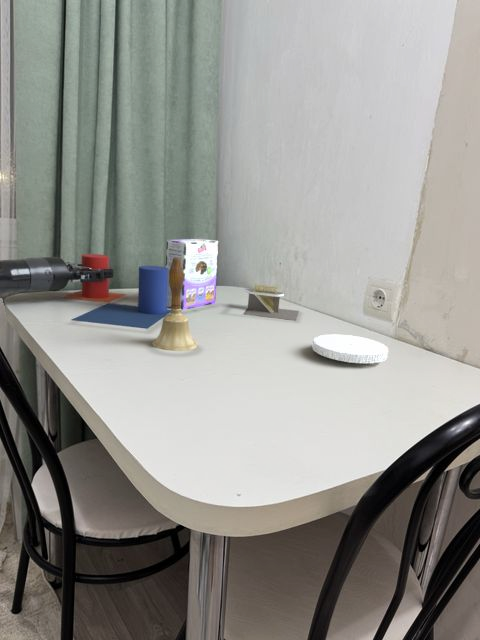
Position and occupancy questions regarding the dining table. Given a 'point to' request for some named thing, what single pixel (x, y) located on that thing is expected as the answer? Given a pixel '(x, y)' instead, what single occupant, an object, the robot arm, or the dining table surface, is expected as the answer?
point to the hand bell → (175, 317)
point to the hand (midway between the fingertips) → (101, 270)
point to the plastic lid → (350, 348)
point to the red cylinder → (99, 287)
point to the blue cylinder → (152, 289)
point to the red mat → (108, 299)
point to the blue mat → (121, 316)
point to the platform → (267, 304)
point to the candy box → (194, 271)
